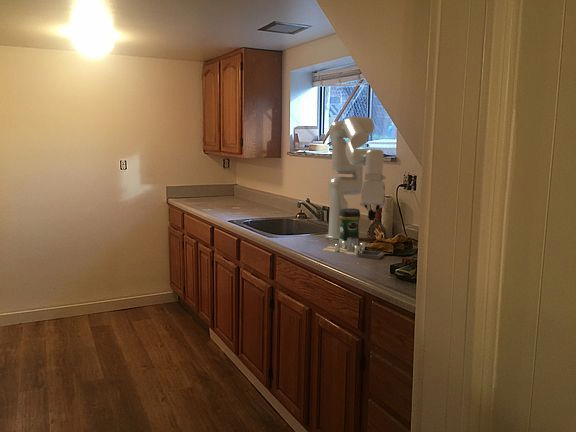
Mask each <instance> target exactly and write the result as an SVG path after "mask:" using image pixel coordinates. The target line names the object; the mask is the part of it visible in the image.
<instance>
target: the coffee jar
mask: <svg viewBox="0 0 576 432" xmlns="http://www.w3.org/2000/svg"><path fill="white" fill-rule="evenodd" d="M339 218H340V234H339V239H338V240H337V241H338V243H337V244H340V247H341V248H342V241H347V238H348V237H355V238H358V246H360V231H359V222H360V219H361V211H360V209H358V208H351V207H348V208H346V209H340V214H339Z"/></svg>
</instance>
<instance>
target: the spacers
mask: <svg viewBox="0 0 576 432" xmlns="http://www.w3.org/2000/svg"><path fill="white" fill-rule="evenodd" d="M334 247H335V252H334V253H337V252H340V244H338V243H335V244H334ZM341 248H342V249H347V241H342V247H341ZM363 250H366V242H364V241H362V242H359V246H355V252H354V254H353V255H356V254H358V253H360V251H363Z"/></svg>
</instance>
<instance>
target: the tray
mask: <svg viewBox="0 0 576 432" xmlns="http://www.w3.org/2000/svg"><path fill="white" fill-rule="evenodd" d="M382 257H384V252H383V251H373V250H366V249H365V250H363V251H361V252H360V253H358V255H357V258H362V259H372V260H380V259H381V258H382Z"/></svg>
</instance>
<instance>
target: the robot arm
mask: <svg viewBox="0 0 576 432" xmlns="http://www.w3.org/2000/svg"><path fill="white" fill-rule="evenodd" d="M374 130H375V123H374V121H373V119H372V118H370V117H368V116H350V117H347V118H345V120H334V121H333V122H332V123H330V125H329V139H330V142H331V148H332V151H331V169H332V172H333V173H334V174H337V175H338V174H339V175H351V176H333V177H332V178H330V179H329V181H328V192H329V214H328V215H329V216H328V233H326V234H325V238H327V239H331V240H333V239H334V240H339V234H340V218H339V214H340V209H346V208H349V204H348V201H347V200H346V198H345V196H359V195H360V204H359V206H361V207H363V208H365V209H366V210H367V212H368V213H367V214H368V215H367V218H368V221H375V219H376V218H377V211H378V210H379V209H382V208H385V206H386V204H385V203H386V185H385V184H386V183H385V181H383V180H386V179H387V177H386V175H384V174H383V173H384V171H383V169H384V151H383V150H382V149H374V148H373V149H369V148H361V147H363V146H364V145H365V144H366V143H367V142H368V139H369V136H370V135H372V134H373V132H374ZM346 139H348V141H346ZM364 169H365V171H364ZM363 179H364V180H363ZM372 205H373V208H372Z"/></svg>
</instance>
